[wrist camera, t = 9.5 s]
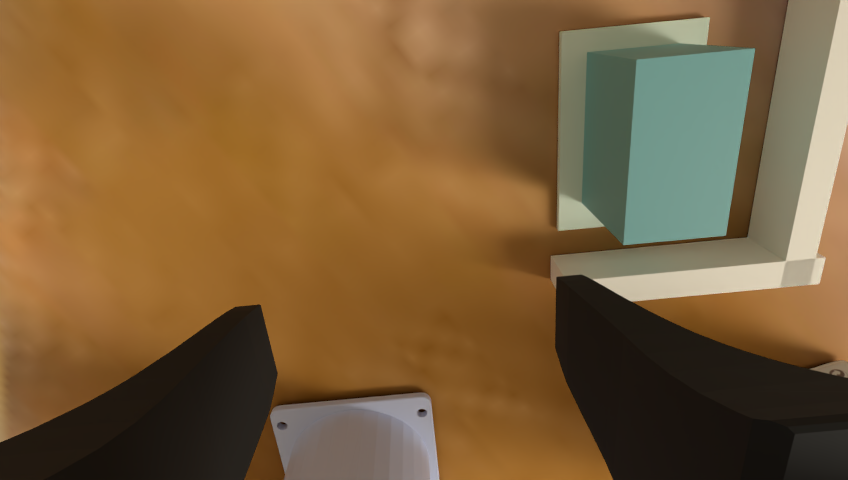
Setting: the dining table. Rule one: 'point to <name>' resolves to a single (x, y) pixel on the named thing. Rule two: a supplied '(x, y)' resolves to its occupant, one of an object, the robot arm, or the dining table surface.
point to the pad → (573, 98)
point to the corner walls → (760, 182)
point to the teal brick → (664, 139)
